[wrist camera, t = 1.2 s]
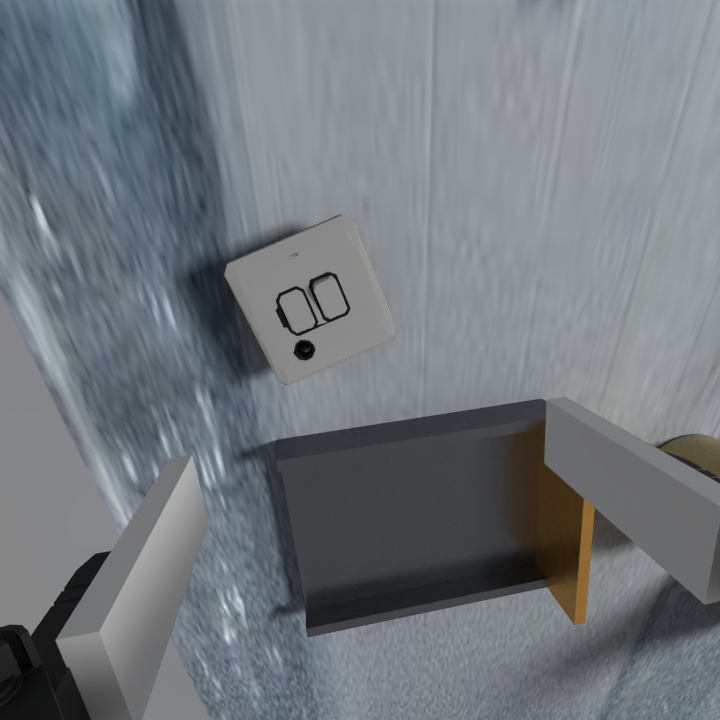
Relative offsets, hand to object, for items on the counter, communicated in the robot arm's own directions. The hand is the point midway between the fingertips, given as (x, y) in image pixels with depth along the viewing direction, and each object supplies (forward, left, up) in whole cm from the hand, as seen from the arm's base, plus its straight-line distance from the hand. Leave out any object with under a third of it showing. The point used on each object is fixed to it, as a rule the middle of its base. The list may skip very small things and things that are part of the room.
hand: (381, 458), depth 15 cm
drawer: (+17, +6, -19) cm, 26 cm away
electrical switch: (0, 0, -19) cm, 19 cm away
